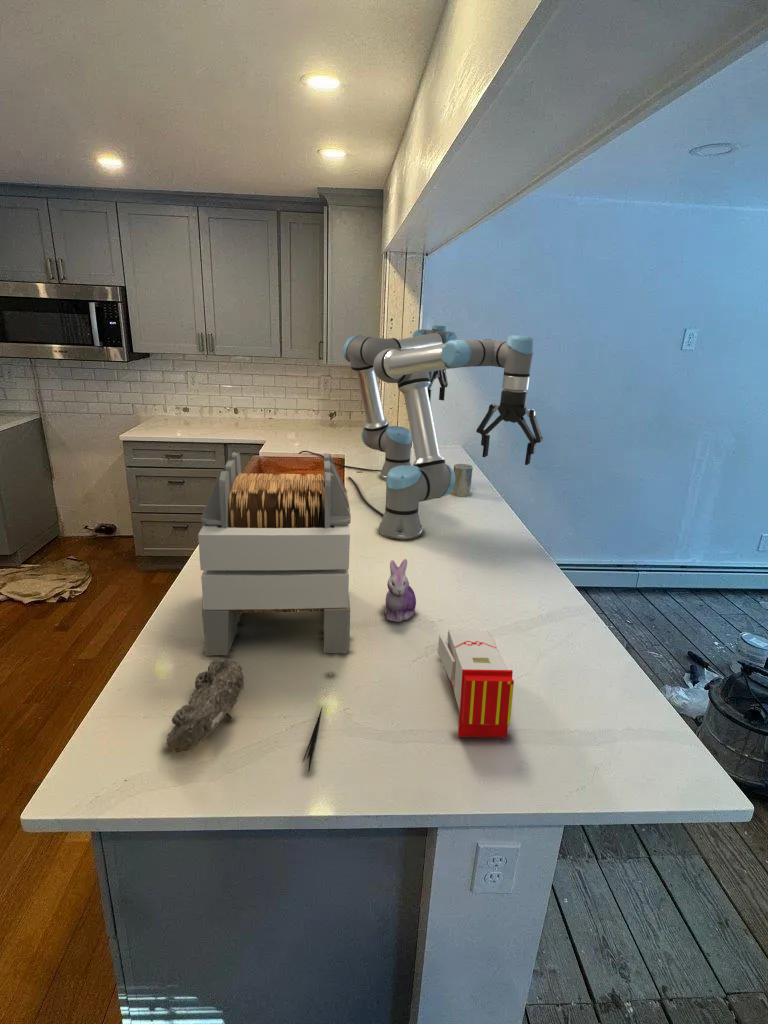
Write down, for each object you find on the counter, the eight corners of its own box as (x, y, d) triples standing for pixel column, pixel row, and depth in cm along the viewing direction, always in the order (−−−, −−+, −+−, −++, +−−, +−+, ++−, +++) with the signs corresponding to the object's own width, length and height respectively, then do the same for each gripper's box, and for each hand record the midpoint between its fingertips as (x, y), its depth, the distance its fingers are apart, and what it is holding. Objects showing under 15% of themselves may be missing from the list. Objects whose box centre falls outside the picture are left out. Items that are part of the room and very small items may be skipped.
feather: (331, 679, 122) (336, 673, 122) (307, 777, 96) (313, 769, 95) (324, 675, 122) (329, 669, 121) (298, 772, 95) (304, 764, 95)
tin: (447, 491, 249) (450, 464, 244) (462, 489, 253) (465, 463, 248) (458, 497, 242) (461, 469, 238) (473, 495, 246) (476, 467, 242)
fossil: (192, 660, 117) (244, 628, 112) (224, 691, 120) (276, 661, 115) (142, 746, 98) (202, 712, 93) (182, 779, 101) (242, 748, 96)
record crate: (226, 586, 157) (217, 442, 143) (344, 585, 161) (346, 445, 147) (202, 658, 125) (189, 482, 112) (350, 654, 129) (354, 483, 115)
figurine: (392, 627, 141) (395, 572, 136) (374, 608, 149) (376, 556, 144) (425, 619, 145) (429, 566, 140) (405, 601, 154) (408, 550, 149)
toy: (488, 613, 130) (523, 677, 101) (484, 667, 133) (517, 744, 104) (435, 612, 130) (455, 676, 101) (432, 666, 133) (451, 743, 103)
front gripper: (560, 394, 164) (549, 464, 172) (479, 384, 176) (472, 451, 183) (553, 396, 158) (542, 470, 166) (470, 386, 170) (463, 455, 177)
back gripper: (430, 360, 269) (427, 404, 276) (456, 357, 288) (453, 399, 295) (417, 358, 273) (414, 402, 280) (444, 356, 292) (440, 398, 299)
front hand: (505, 460), depth 174 cm, fingers open, 13 cm apart
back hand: (434, 401), depth 288 cm, fingers open, 13 cm apart
